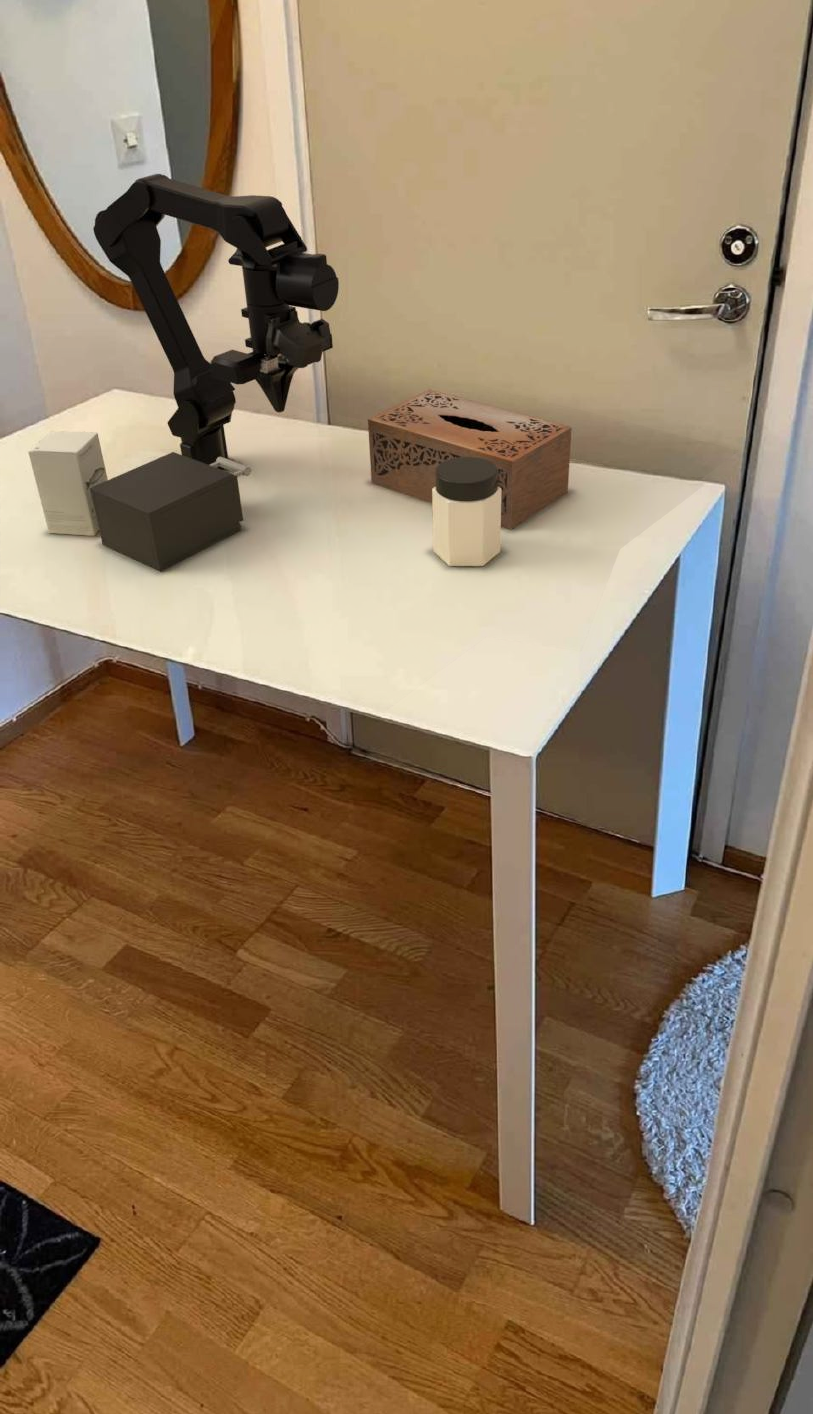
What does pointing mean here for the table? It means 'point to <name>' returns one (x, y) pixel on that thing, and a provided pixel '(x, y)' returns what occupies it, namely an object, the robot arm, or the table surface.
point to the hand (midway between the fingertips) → (279, 411)
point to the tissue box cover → (470, 450)
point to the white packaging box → (68, 480)
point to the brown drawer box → (166, 510)
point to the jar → (466, 511)
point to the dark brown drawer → (234, 476)
